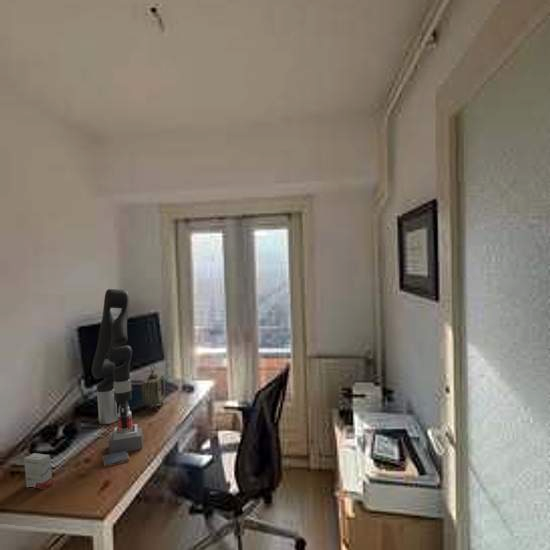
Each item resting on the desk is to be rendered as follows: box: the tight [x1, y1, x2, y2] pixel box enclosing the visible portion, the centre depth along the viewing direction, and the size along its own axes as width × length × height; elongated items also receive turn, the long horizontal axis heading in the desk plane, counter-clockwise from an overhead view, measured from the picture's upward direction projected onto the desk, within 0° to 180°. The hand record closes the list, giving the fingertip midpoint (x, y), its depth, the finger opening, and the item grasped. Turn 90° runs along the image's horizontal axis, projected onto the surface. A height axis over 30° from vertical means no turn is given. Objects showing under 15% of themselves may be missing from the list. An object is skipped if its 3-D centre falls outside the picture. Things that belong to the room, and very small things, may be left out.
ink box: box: [23, 452, 54, 490], centre depth 169 cm, size 9×5×12 cm, turn 71°
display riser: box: [108, 423, 144, 455], centre depth 199 cm, size 10×14×8 cm
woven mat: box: [101, 450, 131, 468], centre depth 187 cm, size 10×11×2 cm
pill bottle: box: [117, 405, 133, 433], centre depth 199 cm, size 6×6×11 cm
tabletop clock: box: [141, 364, 166, 412], centre depth 247 cm, size 14×9×25 cm, turn 179°
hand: (125, 425), depth 199 cm, fingers closed on pill bottle, 6 cm apart
